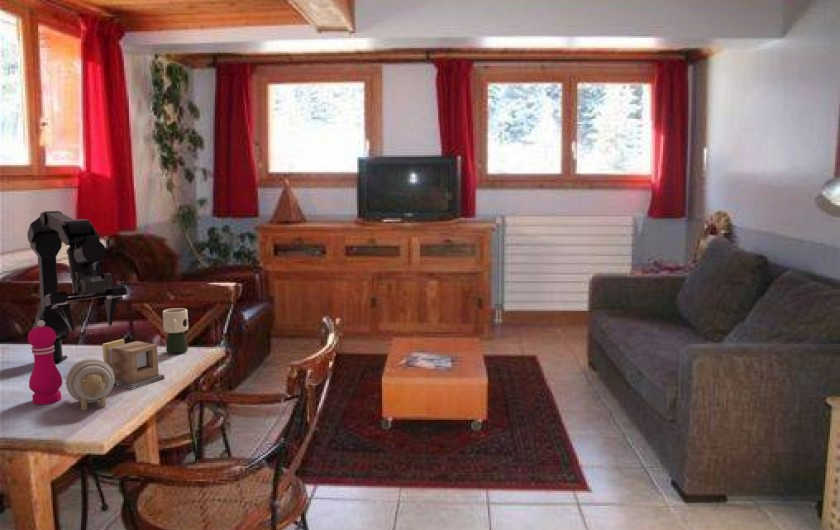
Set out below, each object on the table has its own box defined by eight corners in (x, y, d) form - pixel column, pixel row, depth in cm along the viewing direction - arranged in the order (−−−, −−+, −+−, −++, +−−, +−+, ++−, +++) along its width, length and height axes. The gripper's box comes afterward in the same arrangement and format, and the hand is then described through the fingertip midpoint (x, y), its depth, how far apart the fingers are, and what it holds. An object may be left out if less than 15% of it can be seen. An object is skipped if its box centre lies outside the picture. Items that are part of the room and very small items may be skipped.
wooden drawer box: (88, 378, 195) (86, 344, 194) (121, 368, 204) (118, 336, 202) (132, 388, 186) (130, 353, 185) (164, 378, 195) (162, 344, 193)
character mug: (188, 355, 217) (186, 313, 215) (163, 357, 215) (161, 314, 213) (190, 346, 227) (188, 306, 225) (166, 348, 226) (163, 307, 224)
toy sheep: (74, 418, 165) (71, 370, 164) (61, 398, 179) (58, 354, 177) (123, 408, 171) (120, 363, 170) (107, 390, 185) (104, 347, 183)
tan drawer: (104, 369, 195) (102, 343, 194) (123, 364, 200) (121, 339, 199) (131, 375, 189) (129, 349, 188) (150, 369, 194) (148, 344, 193)
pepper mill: (50, 406, 173) (43, 324, 170) (23, 404, 175) (16, 322, 172) (70, 396, 180) (64, 317, 177) (44, 394, 182) (38, 316, 179)
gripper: (52, 267, 174) (62, 332, 173) (130, 260, 186) (140, 320, 186) (39, 274, 182) (49, 336, 181) (115, 266, 194) (124, 323, 194)
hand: (92, 328), depth 185 cm, fingers open, 9 cm apart
